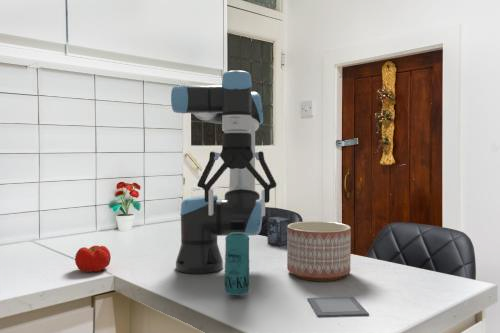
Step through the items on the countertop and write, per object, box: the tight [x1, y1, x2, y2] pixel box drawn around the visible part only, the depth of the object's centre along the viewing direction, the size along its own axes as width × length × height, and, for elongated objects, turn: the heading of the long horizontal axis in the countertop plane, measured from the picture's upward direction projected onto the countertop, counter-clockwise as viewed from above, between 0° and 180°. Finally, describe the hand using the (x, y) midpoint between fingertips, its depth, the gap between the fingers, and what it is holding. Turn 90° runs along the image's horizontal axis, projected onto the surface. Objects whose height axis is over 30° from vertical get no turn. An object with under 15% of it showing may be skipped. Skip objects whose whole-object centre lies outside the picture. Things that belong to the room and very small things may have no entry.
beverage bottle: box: [224, 220, 251, 296], centre depth 116 cm, size 6×7×20 cm
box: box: [267, 216, 291, 247], centre depth 181 cm, size 8×6×11 cm
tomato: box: [74, 245, 112, 273], centre depth 142 cm, size 11×11×8 cm
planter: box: [286, 220, 352, 282], centre depth 137 cm, size 19×19×15 cm
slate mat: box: [306, 296, 370, 318], centre depth 109 cm, size 12×12×1 cm
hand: (237, 215), depth 115 cm, fingers open, 13 cm apart
